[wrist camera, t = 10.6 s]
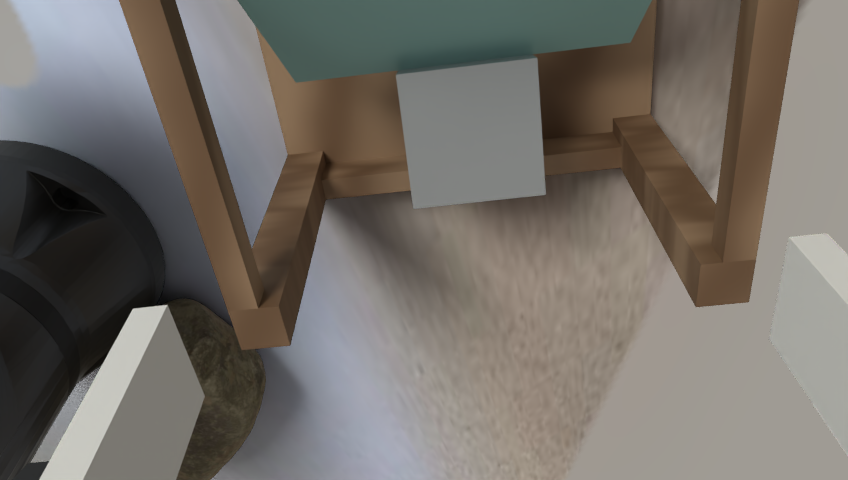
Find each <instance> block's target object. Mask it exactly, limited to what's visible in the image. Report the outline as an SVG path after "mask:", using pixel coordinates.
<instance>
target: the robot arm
mask: <svg viewBox="0 0 848 480" xmlns="http://www.w3.org/2000/svg"><path fill="white" fill-rule="evenodd" d="M164 278H165V265H164V257H163V252H162V249H161V245H160V242H159V239H158V237H157V235H156V233H155V231H154V229H153V227H152V225H151V223H150V222H149V220H148V218H147V217H146V215H145V214H144V213H143V211H142V210H141V208H140V207H139V206H138V205H137V204H136V202H135V201H134V200H133V199H132V198H131V197H130V196H129V195H128V194H127V193H126V192H125V191H124V190H123V189H122V188H121V187H120V186H118V185H117V184H116V183H115V182H114V181H112V180H111V179H110V178H108V177H107V176H106V175H104V174H103V173H101V172H100V171H98V170H97V169H95V168H94V167H92V166H90V165H88V164H87V163H85V162H83V161H81V160H79V159H77V158H75V157H73V156H70V155H68V154H66V153H63V152H60V151H58V150H55V149H51V148H48V147H45V146H41V145H37V144H32V143H26V142H18V141H0V480H176V478H177V475H178V472H179V470H180V467H181V464H182V461H183V458H184V455H185V452H186V449H187V446H188V444H189V441H190V438H191V435H192V432H193V429H194V426H195V423H196V420H197V418H198V415H199V412H200V409H201V406H202V403H203V400H204V397H205V395H204V393H203V390H202V388H201V386H200V383H199V381H198V378H197V376H196V373H195V371H194V368H193V366H192V364H191V361H190V359H189V356H188V354H187V351H186V349H185V346H184V344H183V342H182V339H181V337H180V334H179V332H178V329H177V327H176V324H175V322H174V320H173V317H172V315H171V312H170V310H169V307H168V305H162V306H156V304H157V302H158V300H159V298H160V296H161V293H162V290H163V285H164ZM769 340H770V341H771V343H772V344H773V346H774V347H775V349H776V350H777V351H778V353H779V355H780V356H781V358H782V359H783V361H784V362H785V364H786V365H787V367H788V368H789V369H790V371H791V373H792V374H793V376H794V377H795V379H796V380H797V382H798V383H799V384H800V386H801V388H802V389H803V391H804V392H805V394H806V395H807V397H808V398H809V399H810V401H811V403H812V404H813V405H814V407H815V409H816V410H817V412H818V413H819V414H820V416H821V417H822V419H823V421H824V422H825V424H826V425H827V426H828V428H829V429H830V431H831V432H832V434H833V435H834V437H835V438H836V440H837V441H838V443H839V444H840V446H841V447H842V449H843V450H844V452H845V453H846V455H847V456H848V254H847V253H846V252H845V251H844V250H843V249H842V248H841V247H840V246H839V245H838V244H837V243H836V242H835V241H834V240H833V239H832V238H831V237H830V236H829V235H828V234H827V233H822V234H813V235H805V236H794V237H789V239H788V244H787V249H786V254H785V259H784V264H783V269H782V274H781V280H780V285H779V290H778V295H777V300H776V305H775V311H774V316H773V321H772V326H771V332H770V336H769ZM101 365H102V366H101ZM99 366H101V368H100V370H99V372H98V373H97V375H96V377H95V379H94V381H93V382H92V384H91V386H90V388H89V390H88V392H87V393H86V395H85V397H84V399H83V401H82V403H81V404H80V406H79V408H78V410H77V412H76V414H75V415H74V417H73V419H72V421H71V423H70V424H69V426H68V428H67V430H66V432H65V434H64V435H63V437H62V439H61V441H60V443H59V445H58V446H57V448H56V450H55V452H54V454H53V455H52V457H51V459H50V461H47V462H37V463H30V462H31V460H32V459H33V457H34V455H35V454H36V452H37V450H38V448H39V447H40V445H41V443H42V441H43V440H44V438H45V436H46V434H47V433H48V431H49V429H50V428H51V426H52V424H53V423H54V421H55V419H56V418H57V416H58V414H59V412H60V411H61V409H62V407H63V406H64V404H65V402H66V400H67V399H68V397H69V395H70V394H71V392H72V390H73V389H74V387H75V385H76V384H78V383H79V382H80V381H81V380H83V379H84V378H85V377H87V376H88V375H89V374H90V373H92V372H93V371H94V370H96V369H97V368H98V367H99Z"/></svg>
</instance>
